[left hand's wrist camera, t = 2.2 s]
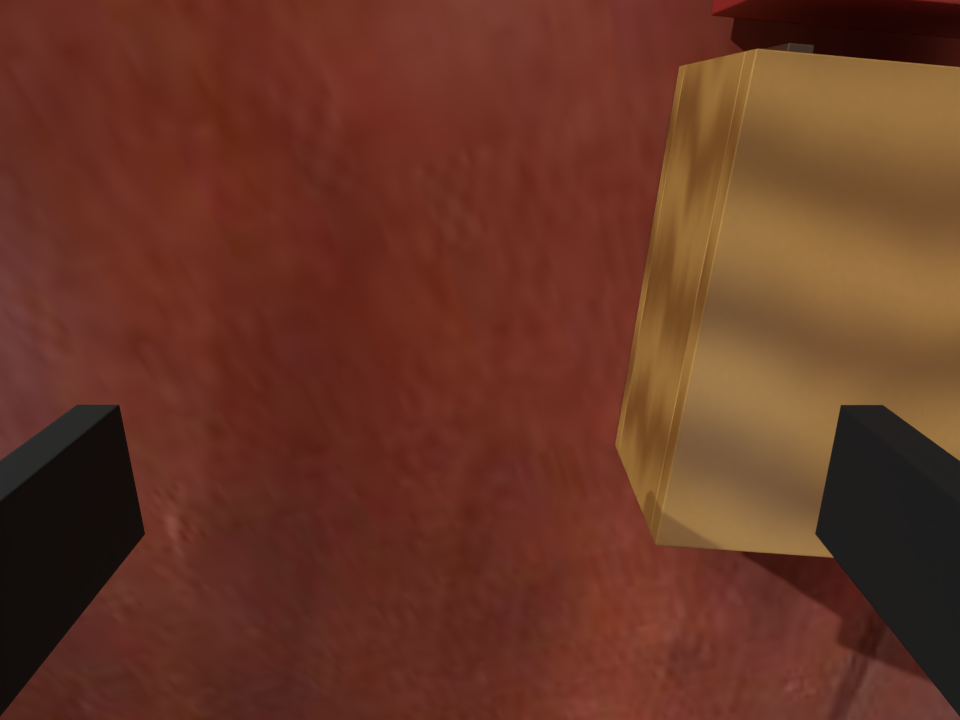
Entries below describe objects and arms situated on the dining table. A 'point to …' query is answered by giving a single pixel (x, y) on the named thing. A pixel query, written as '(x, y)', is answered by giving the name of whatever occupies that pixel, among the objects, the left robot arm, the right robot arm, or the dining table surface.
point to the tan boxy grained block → (791, 289)
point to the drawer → (850, 15)
